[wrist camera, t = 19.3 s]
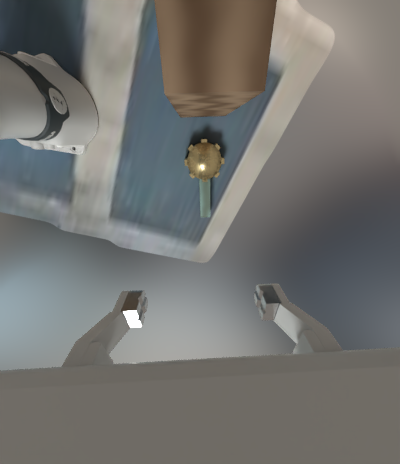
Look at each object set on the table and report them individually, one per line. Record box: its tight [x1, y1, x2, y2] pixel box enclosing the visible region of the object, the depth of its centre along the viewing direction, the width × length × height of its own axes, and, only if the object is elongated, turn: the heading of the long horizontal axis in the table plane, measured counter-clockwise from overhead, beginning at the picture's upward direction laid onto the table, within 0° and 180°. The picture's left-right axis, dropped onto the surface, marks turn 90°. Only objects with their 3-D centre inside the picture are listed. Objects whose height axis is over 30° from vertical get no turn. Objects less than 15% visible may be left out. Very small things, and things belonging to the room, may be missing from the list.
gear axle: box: [185, 139, 224, 217], centre depth 47 cm, size 10×21×3 cm, turn 2°
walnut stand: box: [155, 0, 277, 117], centre depth 25 cm, size 11×14×26 cm
